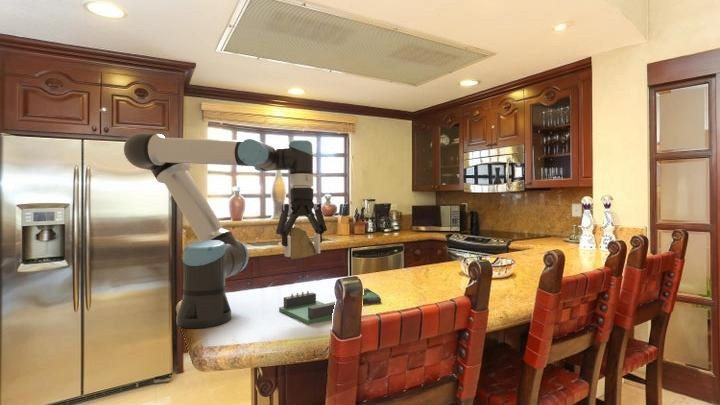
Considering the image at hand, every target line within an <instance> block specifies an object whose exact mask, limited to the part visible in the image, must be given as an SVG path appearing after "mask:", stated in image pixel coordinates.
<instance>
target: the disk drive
mask: <svg viewBox="0 0 720 405" xmlns="http://www.w3.org/2000/svg"><path fill="white" fill-rule="evenodd" d="M363 289H364V295H363V305H373V304H381V303H382V299H381V296H380V295H379V294H377V293H375V292H374V291H372V290H371V289H369V288H366V287H365V288H363Z"/></svg>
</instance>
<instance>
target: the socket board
mask: <svg viewBox="0 0 720 405" xmlns="http://www.w3.org/2000/svg"><path fill="white" fill-rule="evenodd" d="M304 292H305V291H302V292H301V294H299V292H296V295H294V293H291V294H290V296H284V297H283V306H280V307H278V308H279V312H280V313H282V314H284V315H285V314H286V315H287V316H289V317H291V318H293V319H295V320H297V321H299V322H302V323H304V324H306V325H307V326H308V325H311V324H315V323H320V322H325V321H328V320H332V313H333V309H334V305H335V302H336V301H332V302H327V303H323V302H321V301H318V300H317V294H316V293H315V292H310V291H309V290H306V293H304Z"/></svg>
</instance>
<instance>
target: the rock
mask: <svg viewBox="0 0 720 405" xmlns="http://www.w3.org/2000/svg"><path fill="white" fill-rule="evenodd" d="M288 236H291V257H288V258H289V259H290V260H294V259H295V260H296V259H301V258H307V257H308V258H309V257H312V256H315V255H316V256H317V254H318V253H316V250H315V248H314V242H312V240H311V239H310V238H309V235H308V233H307V232H306V231H305V230H303V229H301V228H300V227H296V226H295V227H294V226H293V227H292V229H291V231H290V232H289V234H288Z"/></svg>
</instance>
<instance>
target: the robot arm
mask: <svg viewBox="0 0 720 405" xmlns="http://www.w3.org/2000/svg"><path fill="white" fill-rule="evenodd" d="M123 152H124V153H123V154H124V156H125V159H126V160H127V161H128V162H129V164H131V165H132V166H134V167H136V168H139V169H144V170H148V171H151V173H152V175H153V176H154V178H155V179H156V181H157V182H158V183H161V184H164V185H165V186H166V188H167V190H168V191H169V194H171V196H172V198H173V200H174V201H175V203H176V205H177V206H178V208H179V210H180V211H181V213H182V214H183V216H184V218H185V220H186V221H187V223H188V225H189V226H190V228H191V229H192V231H193V232H194V234H195V236H196V238H197V239H198V241H195V242H191V243H189V244H187V245H186V246H185V247H184V249H183V255H182V299H181V300H180V301H181V302H180V303H179V304H180V305H179V307H178V311H177V314H176V317H175V319H176V320H175V321H176V326H178V327H180V328H185V329H204V328H211V327H216V326H219V325H222V324H225V323H227V322H229V321H230V320H231V318H232V309H231V306H230V303H229V300H228V298H227V293H226V279H227V278H229V277H233V276H236V275H237V274H239V273H240V272H242V271H243V270H244V269H245V268H246V267H247V264H248V263H249V258H250V256H249V255H250V254H249V249H248V248H247V246H246V244H244V243H243V242H242V241H240V240H238V239H236V238H235V236H234V235H233V233H232V231H231V230H227V229H225V228H224V227H223V225H222V224H221V222H220V220H219V218H218V217H217V216H216V214H215V212H214V211H213V209H212V207H211V206H210V204H209V202H208V201H207V199H206V198H205V196H204V194H203V193H202V191H201V189H200V188H199V186H198V185H197V183H196V181H195V179H194V178H193V176H192V175H191V174H190V171H191V168H192V167H191V164H197V165H198V164H199V165H217V166H218V165H221V166H241V167H243V166H244V167H253V168H254V169H255V170H257V171H259V172H261V171H262V172H270V171H289V186H290V187H291V188H290V189H289V194H290V195H289V197H290V203H282V204H281V213H280V217H279V220H278V224H277V227H276V231H275V233H276V235H280V236H281V245H282V247H283V248H284V249H283V250H284V251H283V252H284V257H286V258H289V257H291V236H289V234H290V231H291V229H292V228H294V224H295V222H296V220H297V219H298V218H299V217H306V219H307V220H308V221H309V223H310V225H311V227H312V228H313V230H314V232H315V233H313V245H314V248H315V250H316V253H317V254H321V244H322V242H323V234H325V232H327V230H328V228H327V225H326V222H325V219H324V215H323V212H322V203H320V202H319V203H314V189H313V188H312V187H314V169H313V167H314V154H313V144H312V141H310V140H307V139H292V140H290V141H289V145H288V146H287V147H286V146H285V147H273V146H272V145H269V144H268V143H267V144H266V143H265V142H263V141H261V140H259V139H256V138H246V139H244V140H241V139H239V140H238V139H237V140H235V139H212V138H211V139H210V138H187V137H181V138H180V137H165V136H164V135H163V134H160V133H149V132H137V133H134V134H132V135H130V136H128V138H127V139H126V141H125V142H124V146H123ZM290 210H291V213H290ZM313 210H314V212H313ZM289 213H290V214H289ZM288 217H289V218H288Z"/></svg>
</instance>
